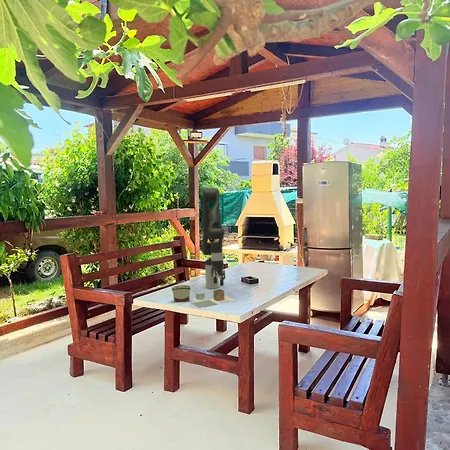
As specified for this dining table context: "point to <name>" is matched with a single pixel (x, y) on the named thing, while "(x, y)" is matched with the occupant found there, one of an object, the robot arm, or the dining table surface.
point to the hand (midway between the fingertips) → (218, 284)
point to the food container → (181, 293)
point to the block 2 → (218, 295)
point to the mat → (204, 303)
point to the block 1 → (200, 296)
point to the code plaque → (221, 300)
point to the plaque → (200, 300)
